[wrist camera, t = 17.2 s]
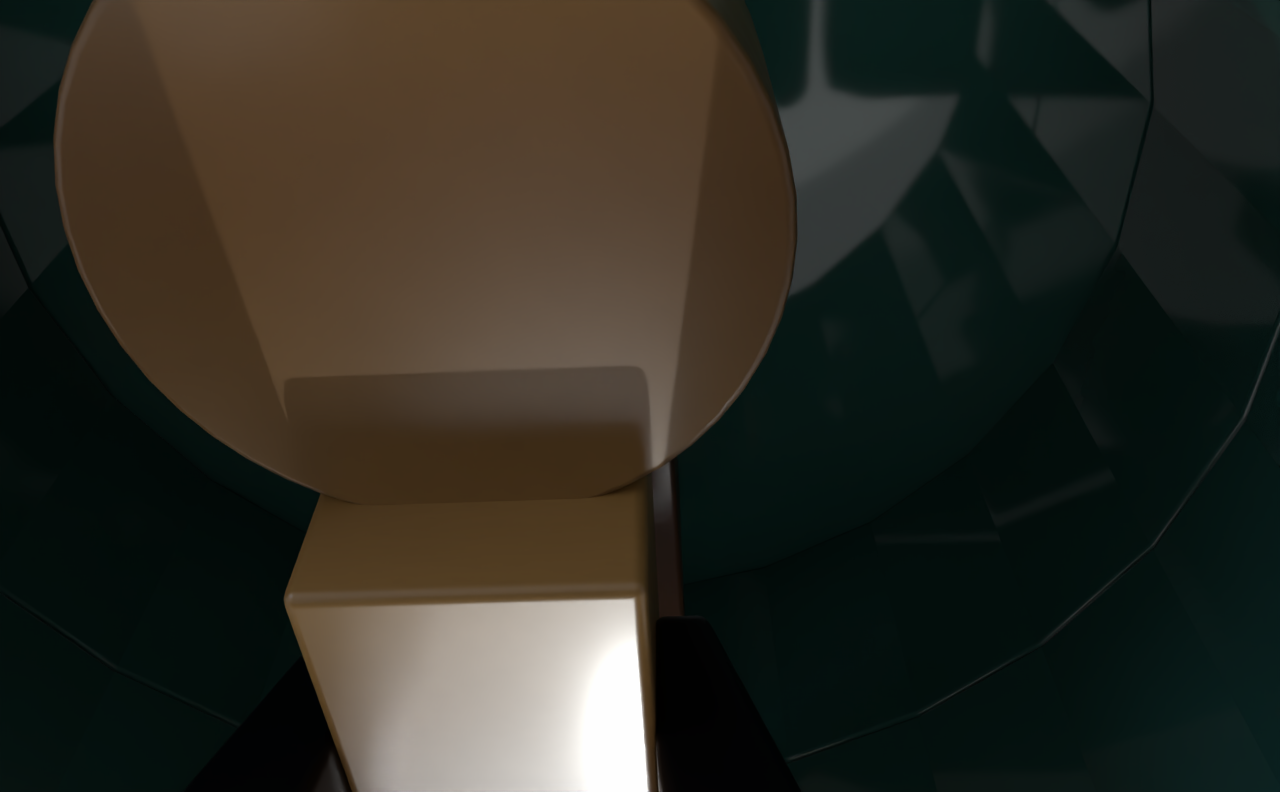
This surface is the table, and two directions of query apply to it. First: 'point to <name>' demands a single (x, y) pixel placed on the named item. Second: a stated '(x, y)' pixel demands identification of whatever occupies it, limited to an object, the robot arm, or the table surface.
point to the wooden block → (445, 328)
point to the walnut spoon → (668, 539)
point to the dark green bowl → (793, 428)
